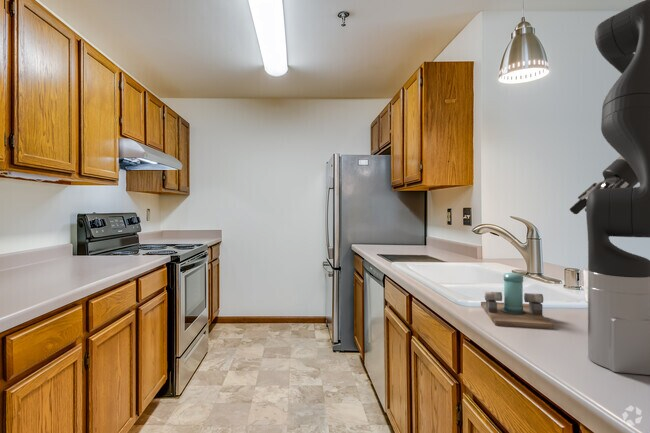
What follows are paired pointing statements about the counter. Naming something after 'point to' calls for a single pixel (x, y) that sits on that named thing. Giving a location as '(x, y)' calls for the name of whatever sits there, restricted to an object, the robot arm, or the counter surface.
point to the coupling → (513, 292)
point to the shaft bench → (525, 319)
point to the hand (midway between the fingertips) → (579, 212)
